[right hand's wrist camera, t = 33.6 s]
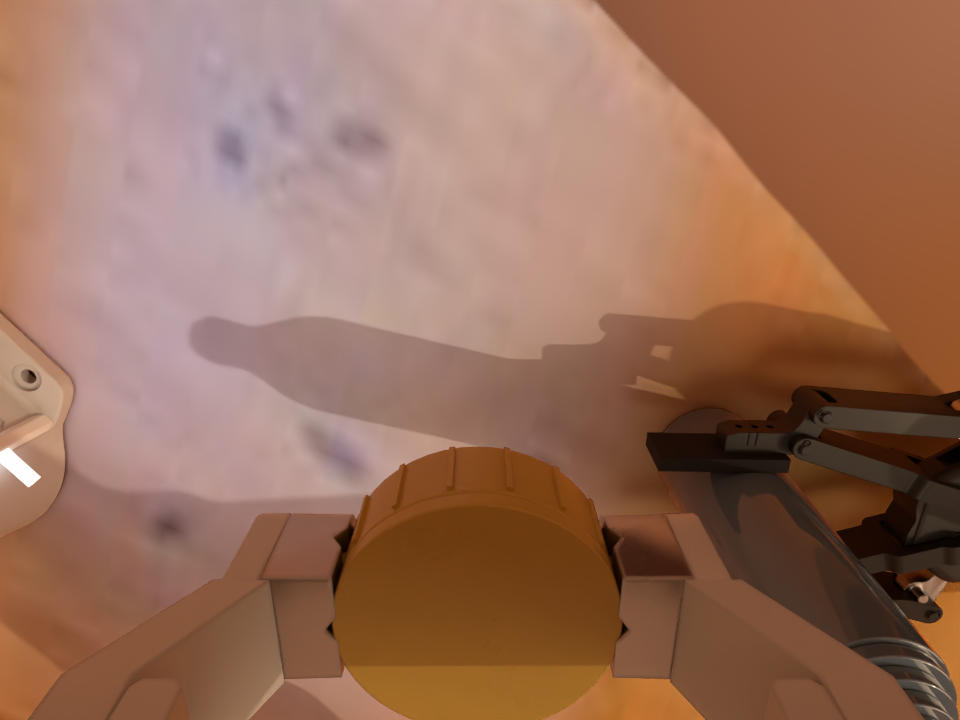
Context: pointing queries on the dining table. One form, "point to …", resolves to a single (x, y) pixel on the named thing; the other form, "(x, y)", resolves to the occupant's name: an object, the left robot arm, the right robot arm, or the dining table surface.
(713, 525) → the bottle
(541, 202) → the dining table surface
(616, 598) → the cap
